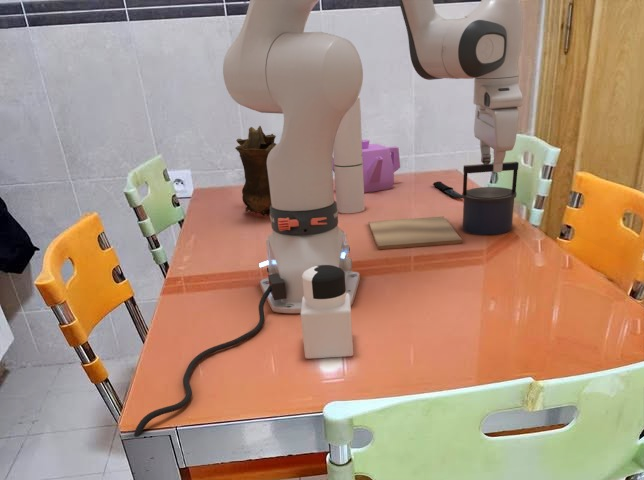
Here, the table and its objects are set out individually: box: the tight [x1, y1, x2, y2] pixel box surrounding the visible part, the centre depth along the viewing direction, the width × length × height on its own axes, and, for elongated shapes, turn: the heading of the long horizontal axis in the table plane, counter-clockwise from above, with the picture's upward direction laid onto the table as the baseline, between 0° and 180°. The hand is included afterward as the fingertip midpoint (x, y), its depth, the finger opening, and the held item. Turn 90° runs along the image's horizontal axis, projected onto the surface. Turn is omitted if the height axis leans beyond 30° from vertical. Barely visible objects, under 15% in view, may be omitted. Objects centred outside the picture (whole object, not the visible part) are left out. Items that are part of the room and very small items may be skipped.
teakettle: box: [332, 139, 401, 194], centre depth 183 cm, size 17×17×12 cm
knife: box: [432, 180, 463, 199], centre depth 175 cm, size 21×1×3 cm
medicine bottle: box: [300, 265, 354, 360], centre depth 94 cm, size 7×7×12 cm
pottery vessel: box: [234, 125, 277, 217], centre depth 163 cm, size 25×11×20 cm, turn 7°
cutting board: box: [368, 215, 463, 250], centre depth 146 cm, size 20×18×1 cm
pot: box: [461, 161, 520, 236], centre depth 143 cm, size 12×12×13 cm
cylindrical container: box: [333, 95, 366, 214], centre depth 159 cm, size 7×7×25 cm
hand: (491, 167), depth 140 cm, fingers open, 8 cm apart
